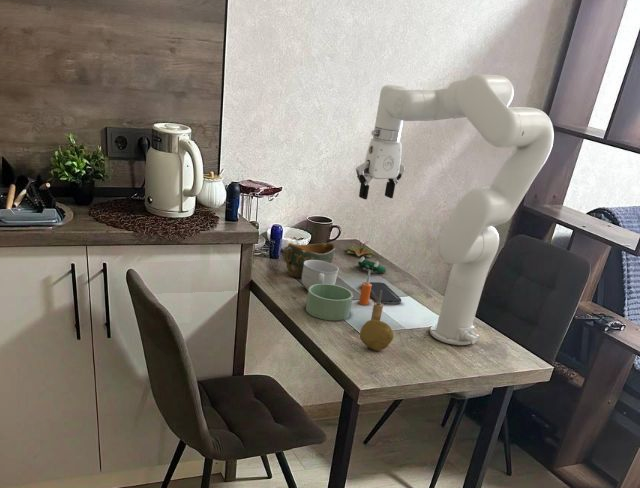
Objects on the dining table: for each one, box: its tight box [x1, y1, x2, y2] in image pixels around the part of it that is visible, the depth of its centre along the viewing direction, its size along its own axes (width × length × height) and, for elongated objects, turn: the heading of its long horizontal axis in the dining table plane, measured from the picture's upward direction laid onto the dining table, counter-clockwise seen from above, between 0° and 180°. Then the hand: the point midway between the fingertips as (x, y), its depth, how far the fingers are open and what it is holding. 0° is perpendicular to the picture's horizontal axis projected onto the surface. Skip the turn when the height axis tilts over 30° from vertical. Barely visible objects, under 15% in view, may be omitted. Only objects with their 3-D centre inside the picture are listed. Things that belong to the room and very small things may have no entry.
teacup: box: [301, 260, 340, 291], centre depth 219 cm, size 14×11×8 cm
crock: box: [305, 284, 354, 322], centre depth 208 cm, size 13×13×6 cm
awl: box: [370, 291, 384, 321], centre depth 203 cm, size 3×3×10 cm
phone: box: [361, 281, 402, 305], centre depth 225 cm, size 8×1×15 cm
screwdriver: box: [358, 270, 372, 306], centre depth 215 cm, size 3×3×10 cm
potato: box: [359, 319, 394, 352], centre depth 189 cm, size 7×8×8 cm
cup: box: [281, 242, 336, 279], centre depth 232 cm, size 13×20×10 cm, turn 105°
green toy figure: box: [357, 256, 387, 274], centre depth 243 cm, size 9×4×6 cm
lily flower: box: [346, 239, 377, 258], centre depth 257 cm, size 12×12×5 cm
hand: (375, 197), depth 213 cm, fingers open, 9 cm apart
